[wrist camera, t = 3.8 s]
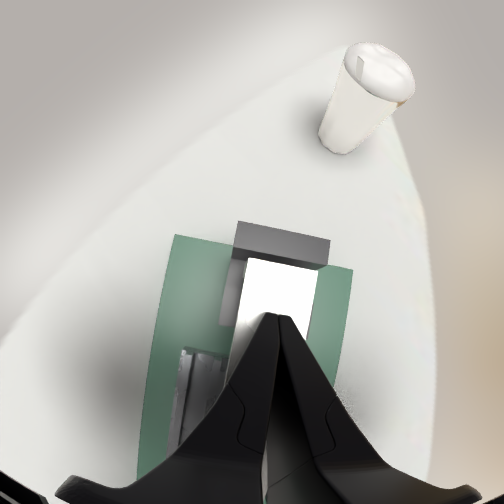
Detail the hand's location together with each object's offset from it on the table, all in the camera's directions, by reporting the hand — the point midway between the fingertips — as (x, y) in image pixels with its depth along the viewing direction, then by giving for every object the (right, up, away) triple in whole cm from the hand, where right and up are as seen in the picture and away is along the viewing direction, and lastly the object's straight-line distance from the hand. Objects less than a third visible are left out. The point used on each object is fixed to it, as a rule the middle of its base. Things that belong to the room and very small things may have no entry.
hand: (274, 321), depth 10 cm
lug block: (-1, 0, +9) cm, 9 cm away
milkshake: (+6, +11, +12) cm, 17 cm away
